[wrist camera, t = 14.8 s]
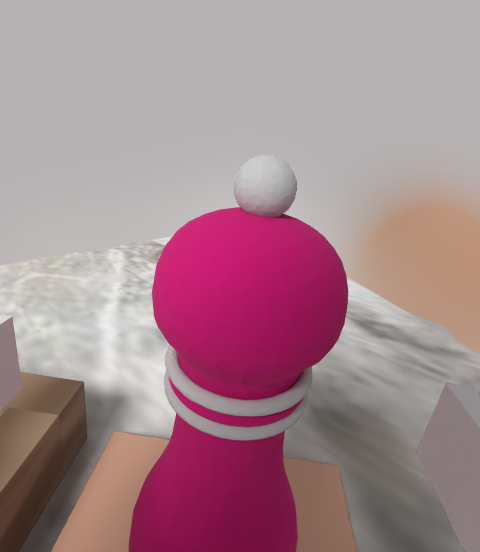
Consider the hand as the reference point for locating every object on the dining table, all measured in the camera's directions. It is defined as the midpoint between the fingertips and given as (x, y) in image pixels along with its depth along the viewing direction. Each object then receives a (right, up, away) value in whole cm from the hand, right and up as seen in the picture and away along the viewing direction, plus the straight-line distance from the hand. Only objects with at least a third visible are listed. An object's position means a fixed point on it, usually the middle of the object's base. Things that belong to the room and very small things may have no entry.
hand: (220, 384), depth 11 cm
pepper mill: (-1, -12, +6) cm, 13 cm away
